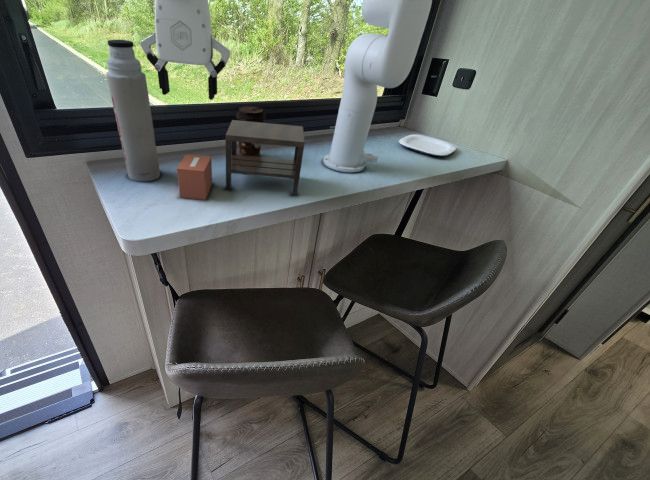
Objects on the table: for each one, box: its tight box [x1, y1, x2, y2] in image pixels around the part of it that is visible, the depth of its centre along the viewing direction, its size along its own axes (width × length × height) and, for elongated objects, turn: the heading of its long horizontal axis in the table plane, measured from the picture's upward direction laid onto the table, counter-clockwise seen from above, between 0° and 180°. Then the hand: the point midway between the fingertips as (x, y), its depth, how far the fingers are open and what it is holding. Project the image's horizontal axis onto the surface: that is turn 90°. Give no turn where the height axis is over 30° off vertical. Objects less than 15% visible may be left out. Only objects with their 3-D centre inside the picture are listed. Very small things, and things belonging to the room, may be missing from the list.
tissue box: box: [176, 153, 213, 201], centre depth 78 cm, size 6×9×7 cm
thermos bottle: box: [105, 39, 161, 182], centre depth 75 cm, size 8×8×28 cm
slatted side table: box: [225, 119, 306, 197], centre depth 82 cm, size 18×12×13 cm, turn 87°
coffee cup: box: [235, 105, 267, 157], centre depth 95 cm, size 9×8×13 cm
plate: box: [398, 133, 458, 157], centre depth 116 cm, size 18×18×2 cm
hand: (189, 95), depth 68 cm, fingers open, 9 cm apart
